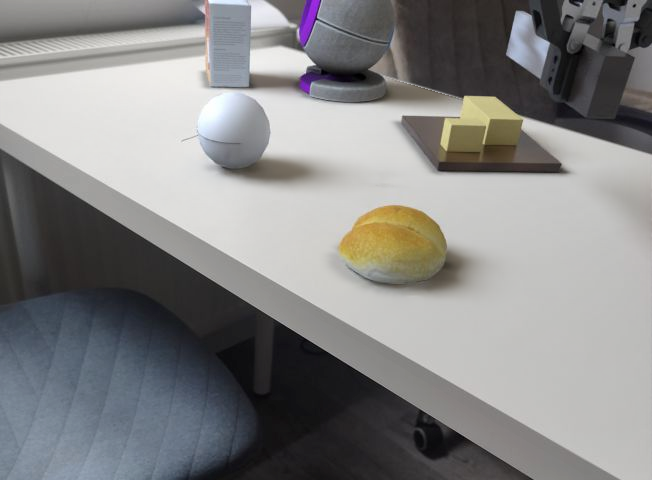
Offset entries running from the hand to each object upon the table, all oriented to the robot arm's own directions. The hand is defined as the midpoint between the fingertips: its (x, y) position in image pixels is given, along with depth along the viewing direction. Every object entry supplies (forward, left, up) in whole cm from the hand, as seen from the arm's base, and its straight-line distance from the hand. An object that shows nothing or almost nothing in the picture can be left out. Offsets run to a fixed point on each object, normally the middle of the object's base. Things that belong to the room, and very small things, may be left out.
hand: (575, 99), depth 57 cm
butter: (-4, -25, -11) cm, 27 cm away
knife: (0, -5, 0) cm, 5 cm away
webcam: (+10, -46, -12) cm, 48 cm away
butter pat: (+1, -19, -11) cm, 22 cm away
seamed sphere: (+28, -15, -12) cm, 34 cm away
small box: (+26, -49, -12) cm, 56 cm away
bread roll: (+15, +5, -12) cm, 20 cm away
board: (-2, -23, -12) cm, 26 cm away
